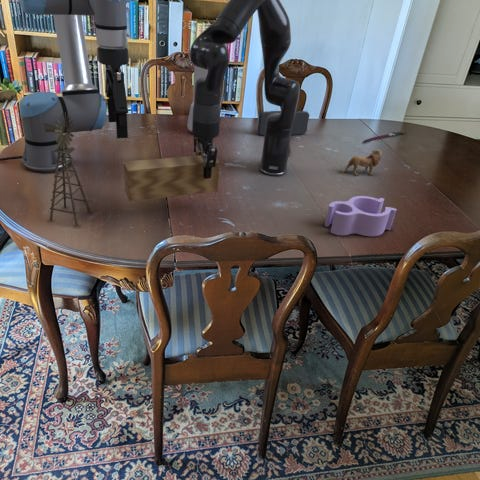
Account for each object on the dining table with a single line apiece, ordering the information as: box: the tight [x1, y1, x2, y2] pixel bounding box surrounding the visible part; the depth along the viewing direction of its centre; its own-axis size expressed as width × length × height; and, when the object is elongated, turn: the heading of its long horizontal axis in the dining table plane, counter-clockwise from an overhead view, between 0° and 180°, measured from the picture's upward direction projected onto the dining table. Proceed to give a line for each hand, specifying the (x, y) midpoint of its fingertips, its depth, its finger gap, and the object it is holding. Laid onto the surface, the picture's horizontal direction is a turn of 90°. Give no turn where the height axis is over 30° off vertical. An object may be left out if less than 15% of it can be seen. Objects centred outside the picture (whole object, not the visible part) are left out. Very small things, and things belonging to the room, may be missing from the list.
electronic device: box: [186, 65, 208, 134], centre depth 192 cm, size 12×8×30 cm, turn 148°
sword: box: [363, 131, 407, 144], centre depth 214 cm, size 31×3×1 cm, turn 126°
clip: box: [324, 195, 398, 237], centre depth 141 cm, size 20×12×7 cm, turn 109°
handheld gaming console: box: [257, 110, 310, 136], centre depth 203 cm, size 23×3×10 cm, turn 108°
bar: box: [123, 154, 220, 202], centre depth 135 cm, size 26×6×9 cm, turn 113°
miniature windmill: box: [44, 113, 92, 227], centre depth 124 cm, size 9×8×30 cm
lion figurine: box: [343, 149, 383, 176], centre depth 175 cm, size 15×5×9 cm, turn 110°
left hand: (117, 129), depth 128 cm, fingers open, 13 cm apart
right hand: (203, 172), depth 138 cm, fingers closed on bar, 6 cm apart
